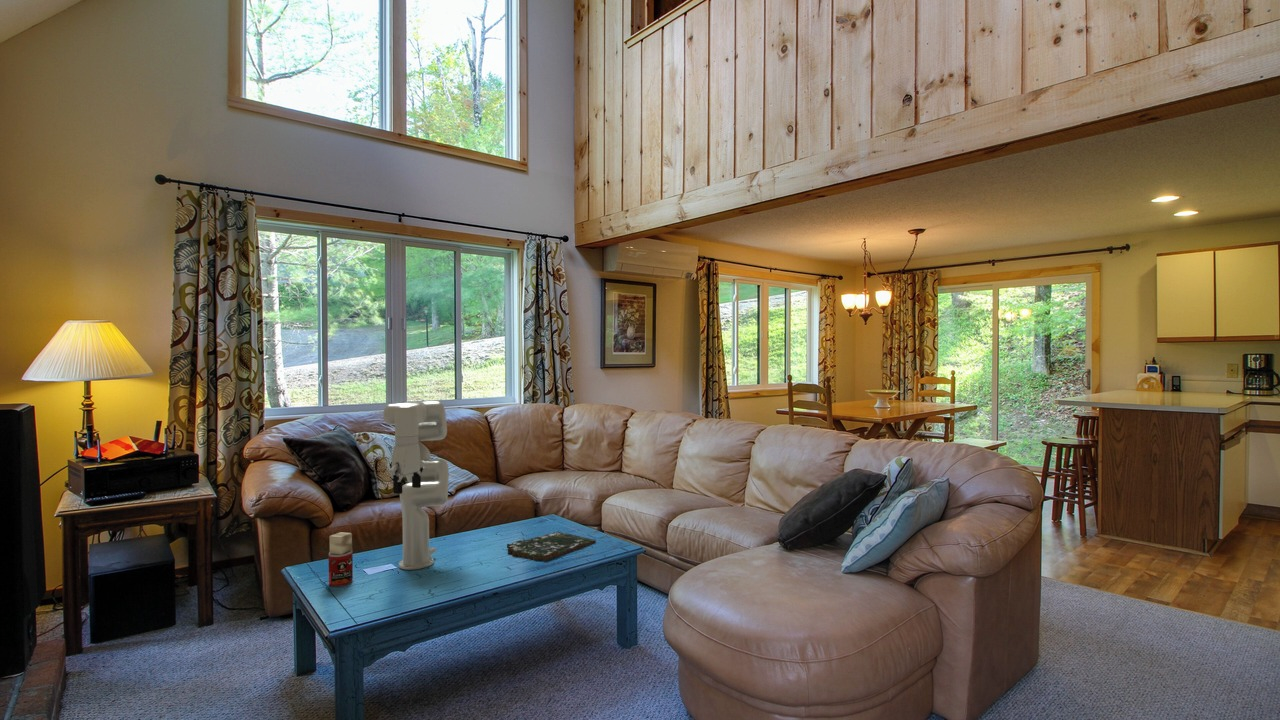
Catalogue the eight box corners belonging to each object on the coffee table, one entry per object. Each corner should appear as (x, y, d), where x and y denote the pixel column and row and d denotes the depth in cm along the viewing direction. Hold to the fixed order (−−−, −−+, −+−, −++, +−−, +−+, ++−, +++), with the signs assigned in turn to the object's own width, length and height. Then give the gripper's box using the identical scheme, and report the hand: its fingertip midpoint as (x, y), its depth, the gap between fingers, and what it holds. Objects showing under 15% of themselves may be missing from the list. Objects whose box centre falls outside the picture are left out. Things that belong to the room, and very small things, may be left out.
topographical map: (595, 543, 258) (595, 536, 258) (539, 565, 232) (539, 557, 232) (552, 533, 273) (552, 527, 273) (495, 552, 247) (495, 545, 247)
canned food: (329, 588, 209) (329, 556, 209) (327, 581, 216) (327, 550, 216) (354, 583, 213) (353, 552, 213) (351, 577, 220) (351, 546, 220)
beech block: (340, 548, 218) (340, 532, 218) (351, 550, 216) (351, 533, 216) (329, 553, 213) (329, 536, 213) (341, 554, 211) (340, 537, 211)
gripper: (413, 437, 219) (414, 484, 219) (380, 444, 203) (380, 495, 203) (431, 438, 217) (432, 485, 217) (399, 444, 200) (399, 496, 200)
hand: (407, 490), depth 210 cm, fingers open, 9 cm apart
